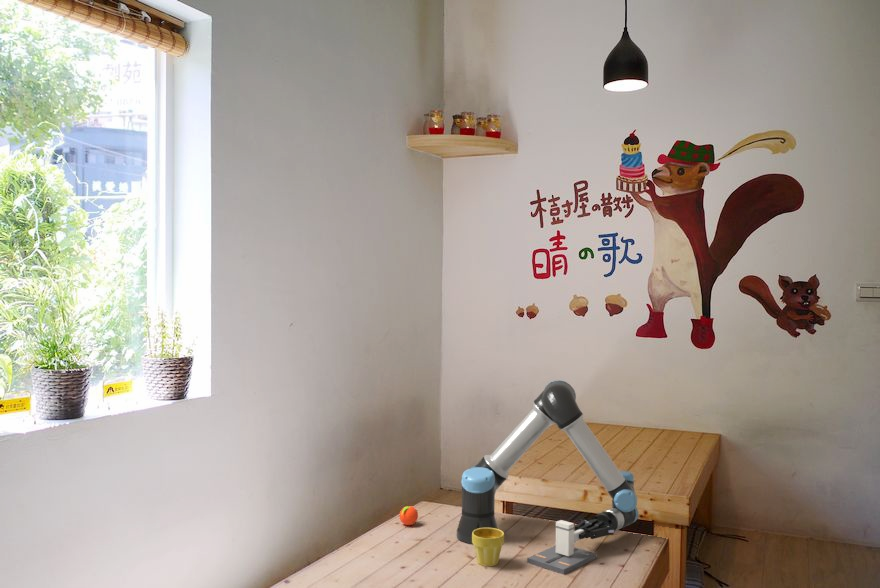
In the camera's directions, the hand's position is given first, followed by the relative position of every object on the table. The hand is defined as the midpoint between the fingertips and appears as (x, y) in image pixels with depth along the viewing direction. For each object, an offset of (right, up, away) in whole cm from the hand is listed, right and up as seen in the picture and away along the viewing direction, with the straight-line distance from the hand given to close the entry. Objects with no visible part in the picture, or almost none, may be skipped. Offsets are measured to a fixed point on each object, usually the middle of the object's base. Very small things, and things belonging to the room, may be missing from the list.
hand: (571, 538), depth 243 cm
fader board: (-3, -7, -1) cm, 8 cm away
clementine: (-55, -6, +33) cm, 64 cm away
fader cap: (-2, -5, 0) cm, 5 cm away
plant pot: (-27, -7, -4) cm, 29 cm away
